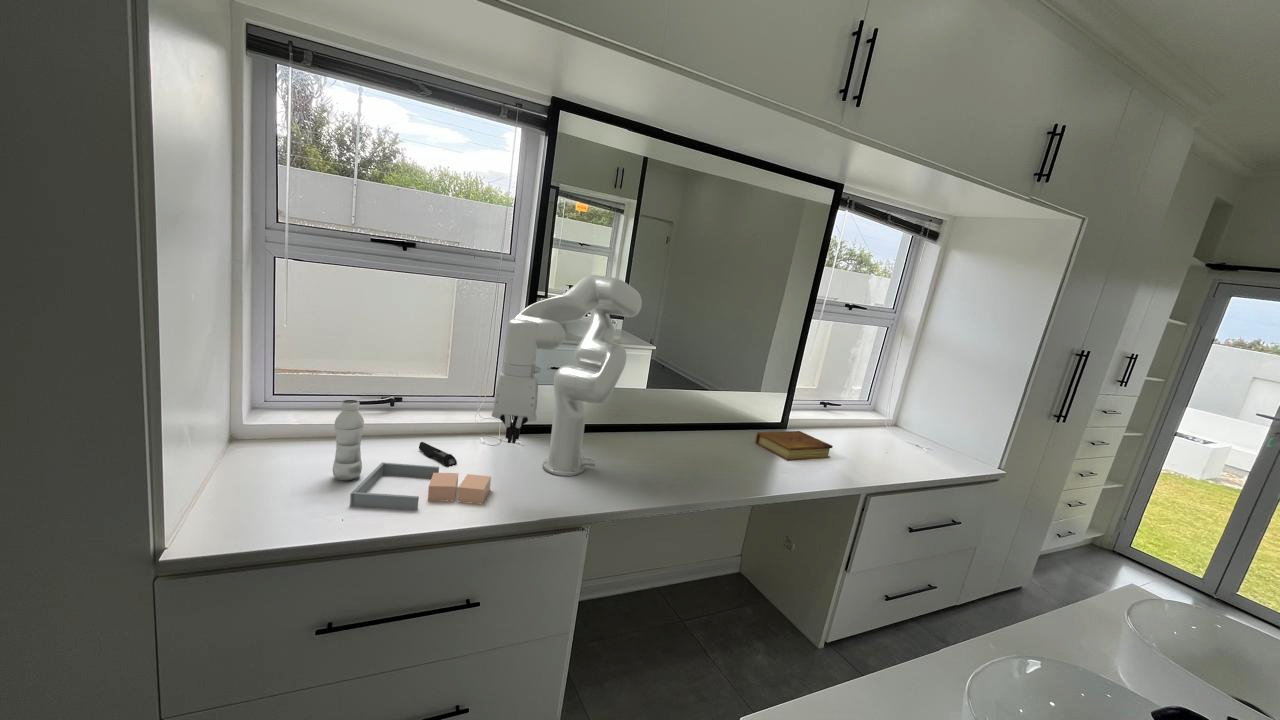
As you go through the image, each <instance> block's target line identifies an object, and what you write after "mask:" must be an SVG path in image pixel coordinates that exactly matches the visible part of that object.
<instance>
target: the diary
mask: <svg viewBox="0 0 1280 720" xmlns="http://www.w3.org/2000/svg"><path fill="white" fill-rule="evenodd" d="M754 443H755V444H756V445H757V446H759V447H761V448H762V449H764V450H766V451H768V452H770V453H772V454H774V455H776V456H777V457H779V458H781V459H783V460H785V461H787V462H789V461H790V462H792V461H795V462H796V461H805V460H806V461H807V460H823V459H831V456H829V455H830V451H831V450H830V449H833V447H834V446H833V445H832V444H829V443H827V442H825V441H823V440H821V439H818V438H816V437H813V436H812V435H809V434H807V433H806V432H802V431H801V430H795V431H794V430H791V431H790V430H788V431H787V430H786V431H783V430H782V431H759V432H757V433H756V435H755V441H754Z"/></svg>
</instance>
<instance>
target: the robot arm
mask: <svg viewBox="0 0 1280 720" xmlns="http://www.w3.org/2000/svg"><path fill="white" fill-rule="evenodd" d="M642 304H643V302H642V297H641V294H640V293H639V291H638V290H637V289H635V288H634V287H633V286H631V285H630V284H628V283H627V282H626V281H624V280H622V279H620V278H618V277H612V276H604V275H597V274H590V275H589V274H588V275H586V276H584V277H583V278H581V279H580V280H578V282H576V283H575V284H574V285H573V286H571V287H570V288H569V289H568V290H566V291H565V292H564V293H562V294H560V295H557V296H553V297H550V298H547V299H543V300H539V301H537V302H534V303H532V304H530V305H528V306H527V307H526V308H524V309H523V310H522V311H520V312H519V313H518V314H517V315H516V316H515V317H514V318H513V319H510V320H509V321H508V322H507V326H506V334H505V346H504V347H505V348H504V357H503V358H504V359H503V367H502V372H500V373H499V375H498V379H497V384H496V388H495V393H494V394H495V395H494V401H493V410H492V413H491V417H492V418H494V419H496V420H497V419H498V420H500V421H501V422H502V423H503V424H504V426H505V428H506V431H505V439H507V443H508V444H510V443H512V444H515V443H516V441H517V440H519V439H520V431H521V427H522V426H523V425H525V424H526V423H528V422H535V421H537V418H538V417H537V407H538V398H539V397H538V394H539V393H538V391H539V384H538V383H539V381H538V380H539V379H538V376H537V375H536V374H541V370H542V367H538V366H537V365H536V362H537V351H538V350H547V351H551V350H552V351H553V350H556V349H558V348H560V346H562V345H563V343H564V341H565V339H566V331H565V328H564V327H563V326H562V325H561V324H566V323H575V322H578V321H580V320H582V319H584V317H585V316H586V315H588V314H590V323H589V326H588V328H587V329H586V331H585V332H584V335H583V337H582V338H581V339H580V342H579V343H578V345H577V347H576V349H575V351H574V354H573V361H574V363H575V364H576V365H572V364H568V365H563V366H560V367H559V368H557V370H556V371H555V373H554V376H553V390H554V393H553V394H554V407H553V416H552V417H553V418H552V426H551V433H550V445H549V451H548V452H549V453H548V458H546V459H544V461H543V462H542V468H543V470H544V471H546V472H547V473H549V474H552V475H556V476H560V477H561V476H564V477H572V476H577V475H580V474H581V473H582V474H583V472H584V471H585V467H586V466H589V467H596V459H592V457H591V456H583V452H582V450H583V440H584V433H585V425H586V416H587V413H586V407H585V404H584V403H589V404H593V405H596V406H597V405H600V406H601V405H603V404H605V403H607V401H608V400H609V398H610V397H611V395H612V393H613V391H614V389H615V388H616V386H617V384H618V382H619V379H620V378H621V375H622V373H623V371H624V369H625V366H626V364H627V350H626V349H625V347H624V346H623V345H621V344H619V343H616V342H613V340H614V338H615V335H616V330H615V325H614V323H613V321H612V320H611V317H610V315H614V316H620V317H625V318H634V317H636V316H638V315H639V313H640V311H641V310H642V306H643V305H642ZM512 417H517V419H516V422H515V424H513V422H512V421H513V418H512Z"/></svg>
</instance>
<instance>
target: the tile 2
mask: <svg viewBox="0 0 1280 720" xmlns="http://www.w3.org/2000/svg"><path fill="white" fill-rule="evenodd" d="M491 481H492V475H489V476H488V475H482V474H481V475H480V474H469V473H467V474H466V476H465V477H464V479H463V480H462V481H461V483H460V485H459V486H457V499H456V501H461V502H460V503H466V502H472V503H471V504H477V503H481V504H480V505H483V504H484V502H485V500H486V498H487V496H488V495H489V492H490V491H491ZM483 501H484V502H483ZM482 503H483V504H482Z"/></svg>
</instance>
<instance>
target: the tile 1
mask: <svg viewBox="0 0 1280 720" xmlns="http://www.w3.org/2000/svg"><path fill="white" fill-rule="evenodd" d="M458 484H459V472H439V473H433V476H432V478H430V482H429V484H428V492H427V493H428V495H427V502H452V501H451V500H454V499H455V500H456V495H457V491H458ZM456 490H457V491H456ZM441 500H442V501H441ZM443 500H444V501H443ZM446 500H448V501H446ZM455 500H454V501H455Z"/></svg>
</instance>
